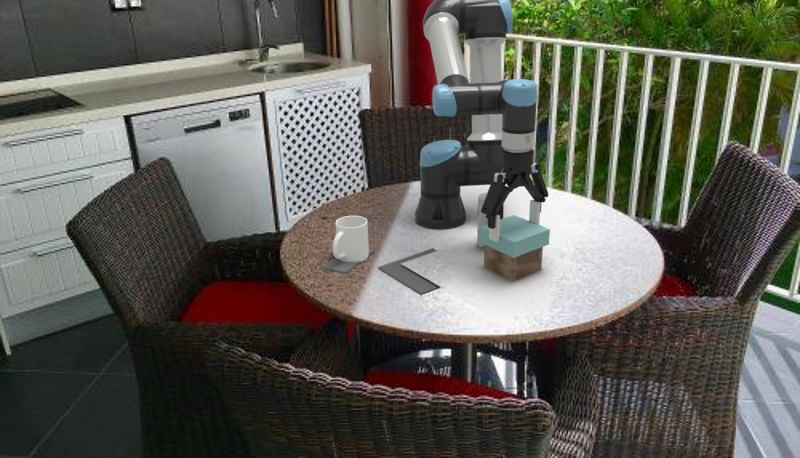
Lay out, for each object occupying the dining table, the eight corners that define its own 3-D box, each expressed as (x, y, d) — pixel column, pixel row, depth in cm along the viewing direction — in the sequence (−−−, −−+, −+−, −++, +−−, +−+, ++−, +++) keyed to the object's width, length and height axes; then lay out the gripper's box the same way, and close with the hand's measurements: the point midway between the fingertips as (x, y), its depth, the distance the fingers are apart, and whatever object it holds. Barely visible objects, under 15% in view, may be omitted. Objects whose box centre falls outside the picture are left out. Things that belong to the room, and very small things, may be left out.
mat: (377, 268, 174) (377, 267, 174) (432, 249, 184) (432, 248, 183) (421, 294, 161) (421, 293, 160) (478, 273, 170) (478, 271, 170)
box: (483, 270, 171) (484, 241, 168) (512, 259, 177) (513, 231, 173) (512, 285, 164) (513, 255, 161) (541, 273, 169) (543, 244, 166)
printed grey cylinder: (506, 251, 181) (508, 199, 175) (483, 256, 179) (485, 202, 173) (494, 242, 187) (496, 190, 181) (472, 246, 185) (473, 194, 179)
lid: (478, 246, 169) (479, 226, 167) (513, 233, 175) (514, 214, 173) (513, 262, 160) (514, 242, 158) (548, 248, 166) (549, 229, 164)
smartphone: (321, 266, 175) (352, 244, 187) (321, 270, 175) (352, 247, 187) (345, 272, 171) (376, 249, 183) (346, 275, 172) (376, 252, 184)
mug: (347, 272, 172) (344, 235, 168) (322, 264, 177) (319, 228, 173) (375, 255, 181) (373, 219, 177) (351, 248, 186) (348, 213, 182)
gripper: (489, 162, 148) (487, 251, 156) (566, 141, 161) (561, 224, 169) (466, 154, 154) (465, 241, 162) (543, 136, 167) (538, 216, 175)
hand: (514, 233), depth 166 cm, fingers open, 13 cm apart
